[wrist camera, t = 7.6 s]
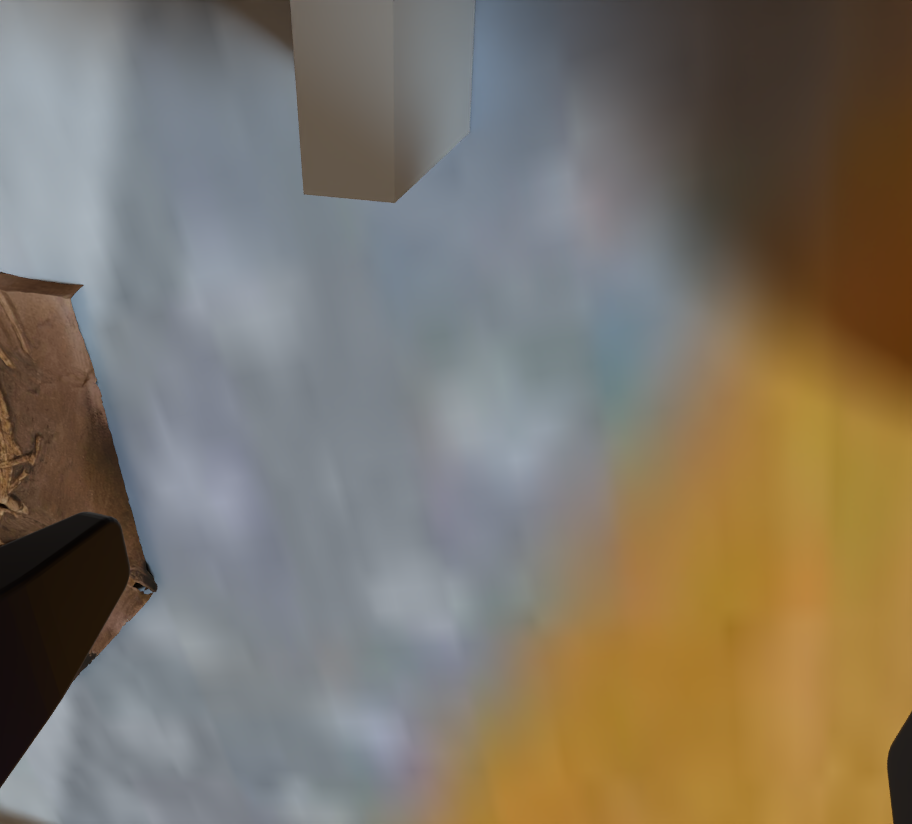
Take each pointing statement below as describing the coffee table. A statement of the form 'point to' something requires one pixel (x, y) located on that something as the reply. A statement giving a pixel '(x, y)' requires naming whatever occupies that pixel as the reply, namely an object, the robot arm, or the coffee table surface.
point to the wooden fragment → (58, 432)
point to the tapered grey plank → (380, 91)
